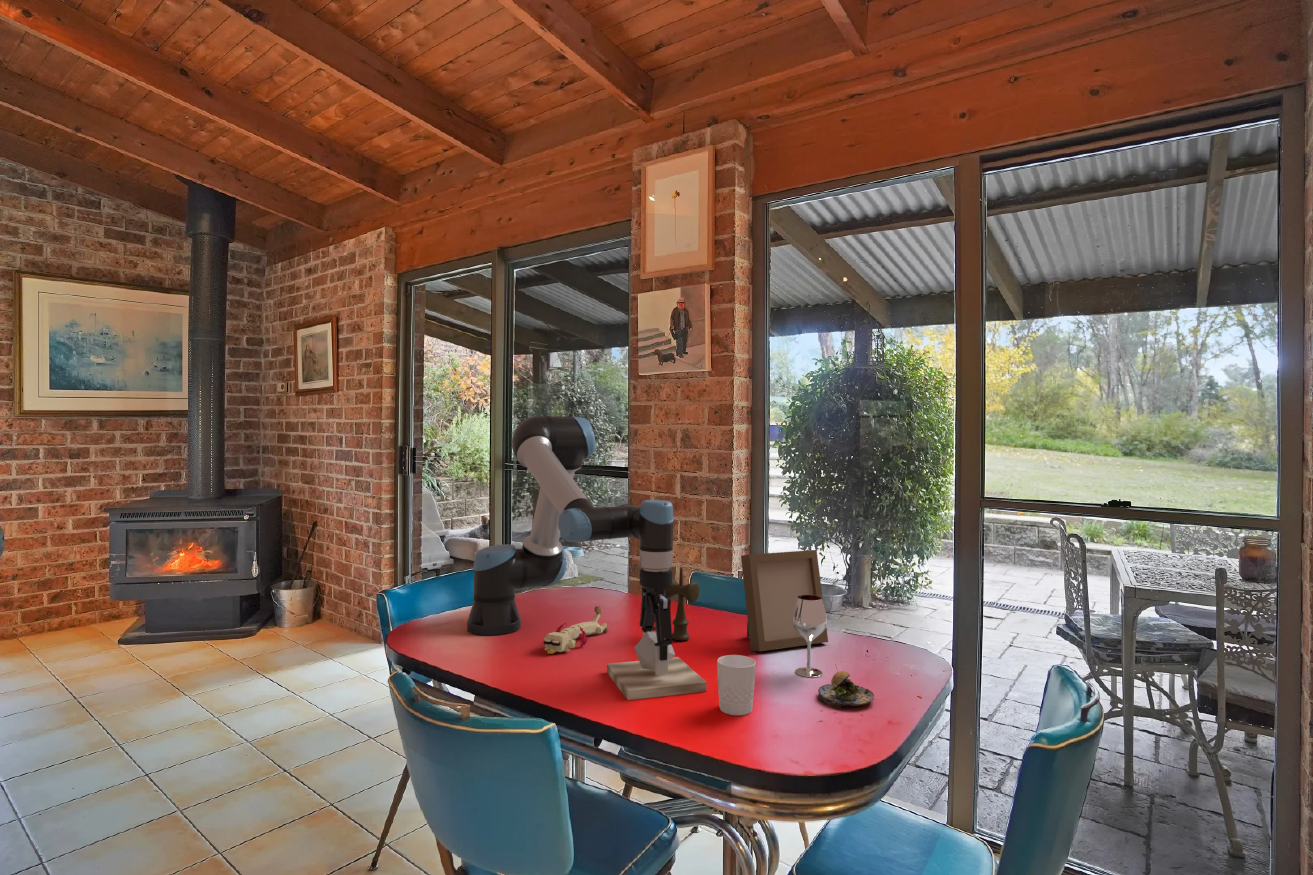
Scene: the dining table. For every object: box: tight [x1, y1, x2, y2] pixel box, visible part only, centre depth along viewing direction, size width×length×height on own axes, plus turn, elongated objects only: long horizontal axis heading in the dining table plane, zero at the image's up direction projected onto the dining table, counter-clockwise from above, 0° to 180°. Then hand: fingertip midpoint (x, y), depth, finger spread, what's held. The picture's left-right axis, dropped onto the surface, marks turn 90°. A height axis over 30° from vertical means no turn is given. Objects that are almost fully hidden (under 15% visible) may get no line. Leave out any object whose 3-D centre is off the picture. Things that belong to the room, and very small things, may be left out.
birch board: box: [606, 656, 707, 701], centre depth 158 cm, size 18×18×2 cm
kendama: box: [665, 566, 700, 642], centre depth 191 cm, size 6×10×20 cm, turn 51°
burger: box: [817, 663, 875, 710], centre depth 149 cm, size 12×12×8 cm
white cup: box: [716, 654, 757, 716], centre depth 143 cm, size 8×8×10 cm
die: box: [634, 631, 676, 670], centre depth 158 cm, size 8×9×10 cm
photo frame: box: [740, 549, 829, 652], centre depth 190 cm, size 15×22×25 cm
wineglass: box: [792, 595, 828, 678], centre depth 165 cm, size 8×8×18 cm
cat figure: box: [542, 605, 609, 655], centre depth 187 cm, size 10×9×25 cm
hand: (654, 666), depth 159 cm, fingers open, 9 cm apart
